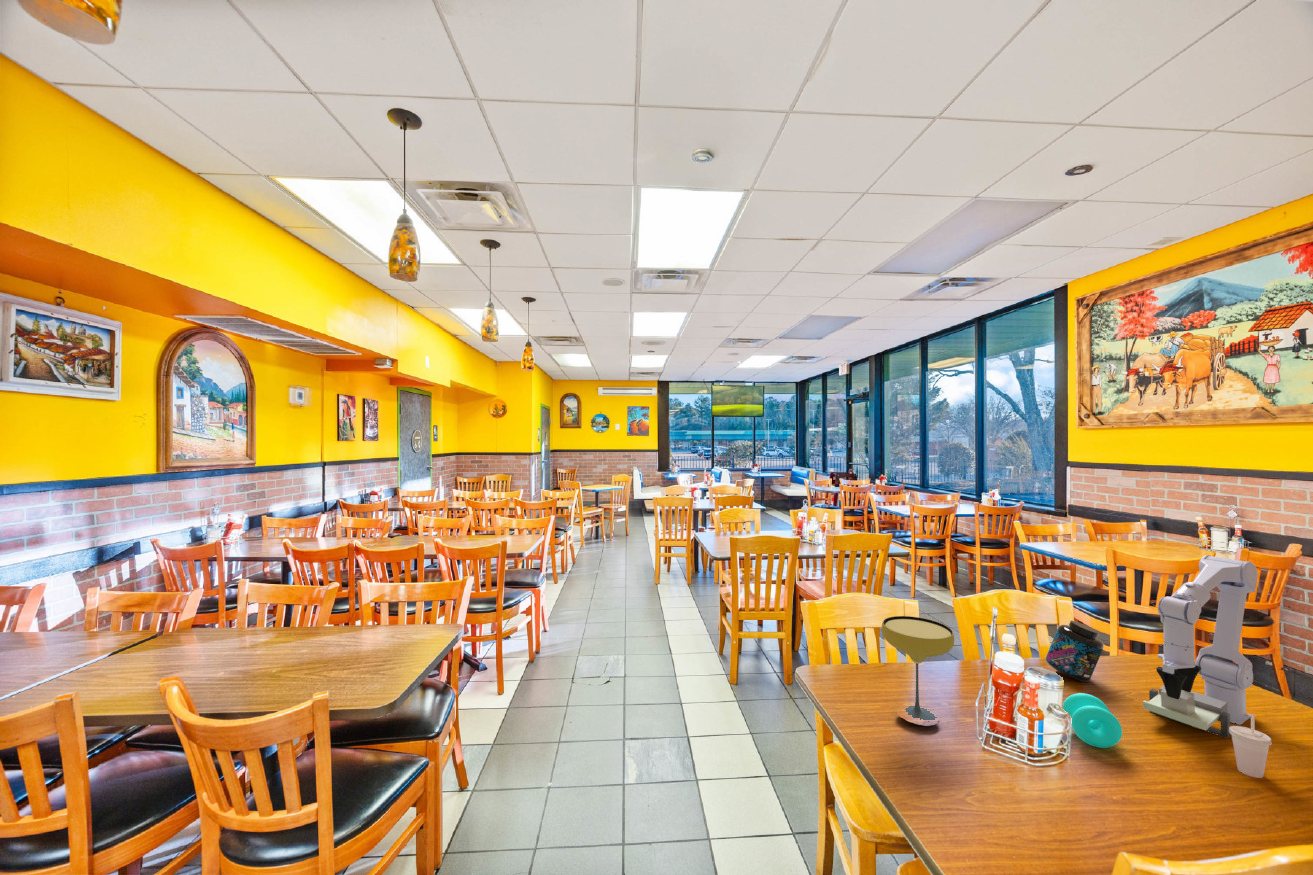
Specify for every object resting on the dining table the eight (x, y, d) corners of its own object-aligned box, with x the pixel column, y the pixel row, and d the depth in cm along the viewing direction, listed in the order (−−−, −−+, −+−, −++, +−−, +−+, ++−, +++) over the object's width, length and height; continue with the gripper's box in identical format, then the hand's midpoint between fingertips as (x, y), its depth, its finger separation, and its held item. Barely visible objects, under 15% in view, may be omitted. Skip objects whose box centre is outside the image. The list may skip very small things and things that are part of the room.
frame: (1152, 709, 145) (1152, 688, 145) (1230, 736, 131) (1230, 713, 131) (1149, 711, 143) (1149, 690, 144) (1227, 739, 130) (1227, 716, 130)
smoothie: (1281, 786, 112) (1280, 723, 112) (1246, 782, 114) (1246, 720, 114) (1253, 767, 119) (1253, 708, 119) (1221, 764, 120) (1220, 705, 120)
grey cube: (1169, 703, 138) (1168, 685, 138) (1195, 712, 134) (1194, 693, 133) (1161, 709, 136) (1160, 691, 136) (1187, 718, 131) (1186, 699, 131)
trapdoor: (1166, 695, 145) (1166, 683, 145) (1227, 715, 135) (1227, 702, 135) (1143, 713, 138) (1142, 700, 138) (1206, 735, 127) (1205, 722, 127)
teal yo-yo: (1108, 733, 133) (1108, 695, 133) (1124, 754, 124) (1124, 714, 124) (1061, 724, 137) (1061, 687, 137) (1073, 744, 128) (1073, 705, 128)
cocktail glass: (883, 725, 136) (883, 633, 136) (880, 694, 153) (880, 612, 153) (960, 740, 129) (959, 643, 130) (948, 706, 146) (948, 620, 146)
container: (1084, 674, 168) (1104, 629, 165) (1091, 689, 157) (1113, 642, 155) (1041, 655, 174) (1060, 612, 171) (1046, 668, 163) (1065, 623, 161)
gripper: (1169, 633, 142) (1169, 681, 141) (1147, 643, 135) (1147, 693, 135) (1205, 642, 135) (1205, 692, 135) (1183, 652, 129) (1184, 706, 129)
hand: (1179, 694), depth 135 cm, fingers open, 7 cm apart
